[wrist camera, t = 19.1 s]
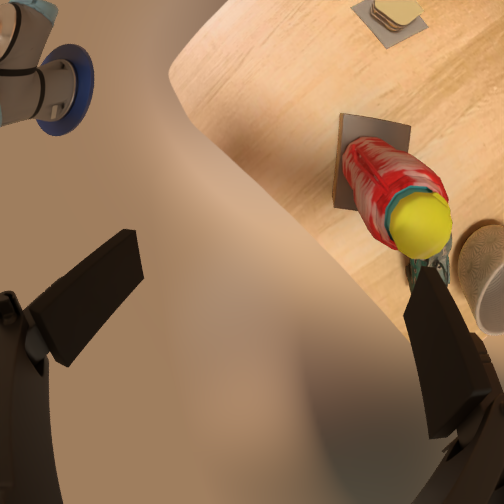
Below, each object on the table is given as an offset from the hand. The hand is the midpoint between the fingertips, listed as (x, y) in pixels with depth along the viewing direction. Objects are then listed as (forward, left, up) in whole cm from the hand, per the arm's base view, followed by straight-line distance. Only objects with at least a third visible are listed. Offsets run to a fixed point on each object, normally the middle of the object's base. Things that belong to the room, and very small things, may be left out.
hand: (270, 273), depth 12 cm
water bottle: (+10, 0, -31) cm, 33 cm away
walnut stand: (+10, 0, -37) cm, 38 cm away
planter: (+38, -13, -37) cm, 55 cm away
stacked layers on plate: (+13, +26, -37) cm, 47 cm away
